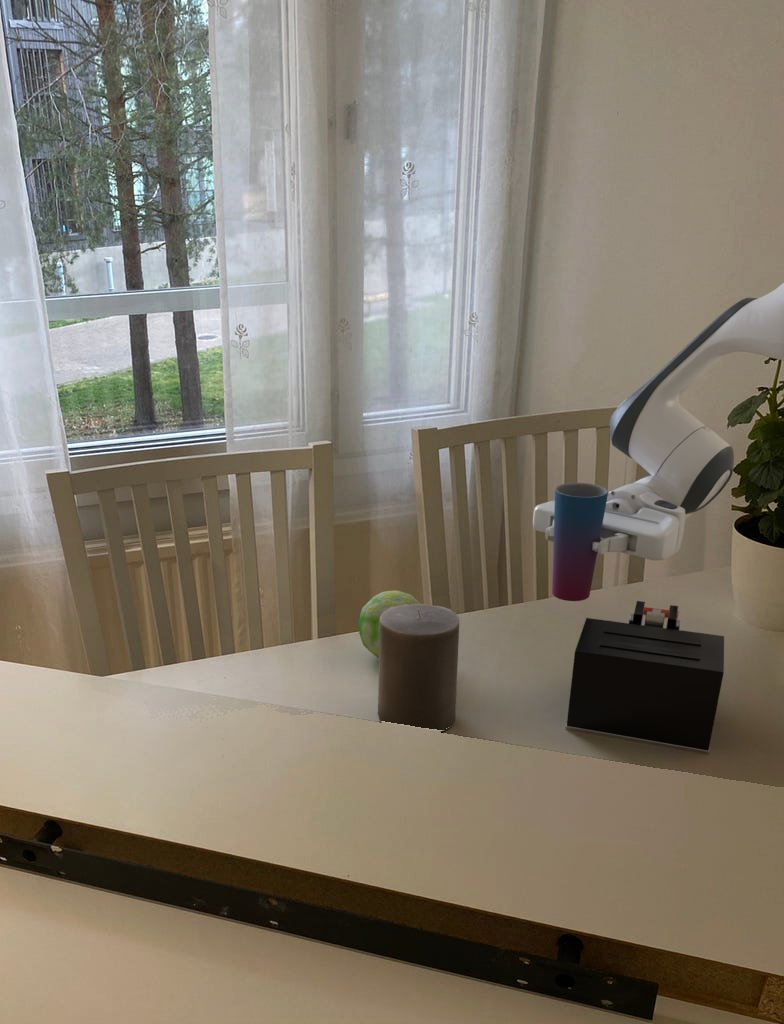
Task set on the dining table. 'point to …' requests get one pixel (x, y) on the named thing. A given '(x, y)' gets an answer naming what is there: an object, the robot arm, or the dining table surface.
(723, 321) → the robot arm
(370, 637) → the decorative ball
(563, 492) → the cup
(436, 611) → the pillar candle
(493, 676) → the dining table surface
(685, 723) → the toaster
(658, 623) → the lever
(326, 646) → the dining table surface
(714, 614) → the dining table surface
